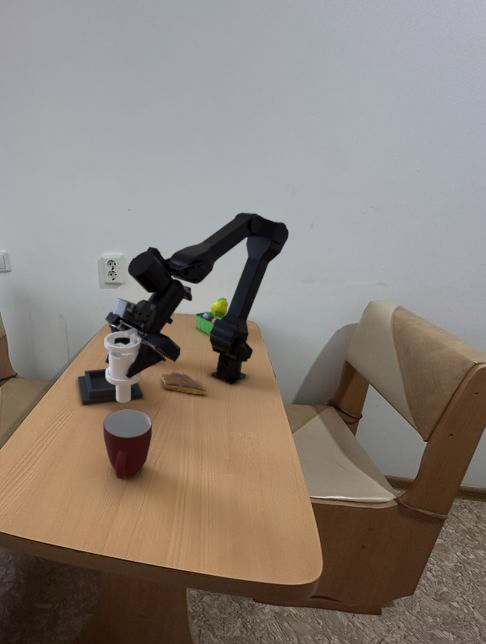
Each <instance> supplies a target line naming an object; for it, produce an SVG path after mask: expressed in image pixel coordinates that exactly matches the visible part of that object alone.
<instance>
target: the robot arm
mask: <svg viewBox="0 0 486 644" xmlns="http://www.w3.org/2000/svg"><path fill="white" fill-rule="evenodd" d="M289 234H290V232H289V229H288V227H287V224H286V223H285V222H282V221H274V220H271V219H268V218H266V217H263V216H261V215H260V214H258V213H254V212H253V213H252V212H240V213H237V214H236V215H235V216H234V218H232V219H231V220H230V221H229V222H228V223H226V224H225V225H223V226H222V227H221V228H220V229H218V230H217V231H215V232H214V233H212V234H211V235H210V236H209V237H207V238H206V239H204V240H203V241H201V242H199V243H197V244H193V245H188V246H186V247H184V248H181V249H178V250H177V251H175V252H174V253H173V254H171V256H170V257H168V258H167V257H166V258H164V256H163V255H162V253H161V252H160V250H159V249H158V248H157V247H153V246H149V247H148V248H147V249H146V250H145V251H143V252H141V253H139V254H137V255H136V256H135V257H133V258H132V259H131V260H130V262H129V263H128V267H127V272H128V274H129V276H131V278H132V279H133V280H135V281H136V283H137V284H138V285H139V286H140V287H141V288H142V289H143V290H144V291H145V292H146V293H149V294H151V295H150V296H149V298H148V299H147V300H146V299H141V300H139V301H137V303H135V302H133V301H130V300H126V299H123V298H117V300H116V302H115V305H114V308H113V311H110V312H108V314H107V316H106V317H105V318H104V320H105V321H106V322H107V323H108V327H109V328H110V331H111V333H114V332H120V331H126V330H130V329H132V328H135V329H137V330H138V335H139V336H140V337H141V339H142V340H144V341H146V342H148V344H146V343H144V342H142V341H140V351H139V353H138V355H137V357H136V359H135V361H134V362H133V363H132V364H131V366H130V367H129V369H128V371H127V373H126V377H128V378H131V377H133V376H135V375H136V374H138V373H140V372H141V373H142V372H143V371H145V370H146V369H149V368H150V367H152V366H155V365H156V364H159V363H161V362H166V361H167V359H168V360H170V361H171V362H174V363H176V362H177V360H178V359H179V357H180V355H181V347H180V346H179V345H178V344H177V343H176V342H175V341H173V339H171V337H169V336H168V335H166V334H164V333H162V330H163V329H164V327H165V326H166V325H167V324H168V325H172V324H173V322H174V319H173V318H172V316H173V314H174V313H175V312H176V310H177V308H178V307H179V306H180V304H181V303H182V301H183V300H186V301H188V302H192V301H193V294H192V287H190V286H187V285H184V284H183V283H182V281H183V282H186V283H191V284H195V285H197V284H200V283H202V282H203V281H204V280H205V279H206V278H207V277H208V275H210V274H211V273H212V271H213V270H214V266H215V264H216V262H217V261H218V260H219V259H220V258H222V257H223V256H225V254H227V253H229V252H230V251H231V250H232V249H234V248H235V247H236V246H237V245H239V244H240V243H242V242H243V241H244V240H245V239H246V242H245V246H246V252H247V258H246V261H245V264H244V266H243V269H242V272H241V275H240V277H239V280H238V283H237V285H236V288H235V290H234V293H233V296H232V299H231V301H230V304H229V305H228V308H227V313H226V315H225V316H224V317H223V318H221V319H216V320H215V321H214V325H213V328H212V330H211V332H210V334H211V335H209V342H210V345H211V349H212V352H214V353H216V354H219V355H218V360H217V365H216V370H215V371H214V372H212V373H211V376H212V377H213V378H216V379H217V380H220V381H222V382H225V383H228V384H230V385H234V384H236V383H237V382H239V381H240V380H242V379H244V378H246V377H247V374H246V373H244V372H242V367H243V363H247V362H248V360H249V359H251V358H252V355H253V352H254V350H253V348H252V347H251V346H250V344H249V343H248V337H249V327H248V322H247V321H248V318H249V315H250V312H251V310H252V307H253V305H254V302H255V299H256V297H257V295H258V292H259V290H260V287H261V285H262V282H263V279H264V277H265V274H266V273H267V272H266V271H267V269H268V267H269V264H270V262H272V261H273V260H274V259H275V258H277V257H278V255H280V254H281V252H282V250H283V248H284V246H285V245H286V242H287V241H288V239H289ZM145 334H146V335H147V336H145ZM117 343H121V344H124V345H127V344H129V343H130V338H126V337H120V338H115V339H114V344H117ZM104 362H105V363H106V364H108V365H109V350H107V354H106V357H105V360H104Z"/></svg>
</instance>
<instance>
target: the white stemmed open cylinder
mask: <svg viewBox="0 0 486 644" xmlns="http://www.w3.org/2000/svg"><path fill="white" fill-rule="evenodd" d="M120 337H126V338H130V343H129V344H127V345H124V344H121V343H117V344H114V339H115V338H120ZM140 341H141V337H140V336H139V335H138V330H137V329H135V328H132V329H130V330H126V331H120V332H114V333H112V332H111V333H109V334H107V335H105V337H104V340H103V344H104V348H105V349H106V350H107V351H108V350H109V364H108V367H106V368H105V369H106V380H107V381H108V382H109V383H111V384H114V385H116V400H117V401H116V402H118V403H121V404H125V403H129V402H130V401H131V400H132V399H131V385H132V384H135V383H137V384H138V382H139V381H140V380H141V377H142V376H141V374H142V371H141V372H140V373H138V374H136V375H135V376H133V377H131V378H128V377H126V373H127V371H128V369H129V367H130V366H131V364H132V363H133V362H134V361H135V359H136V357H137V355H138V349H139V348H140Z"/></svg>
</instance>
